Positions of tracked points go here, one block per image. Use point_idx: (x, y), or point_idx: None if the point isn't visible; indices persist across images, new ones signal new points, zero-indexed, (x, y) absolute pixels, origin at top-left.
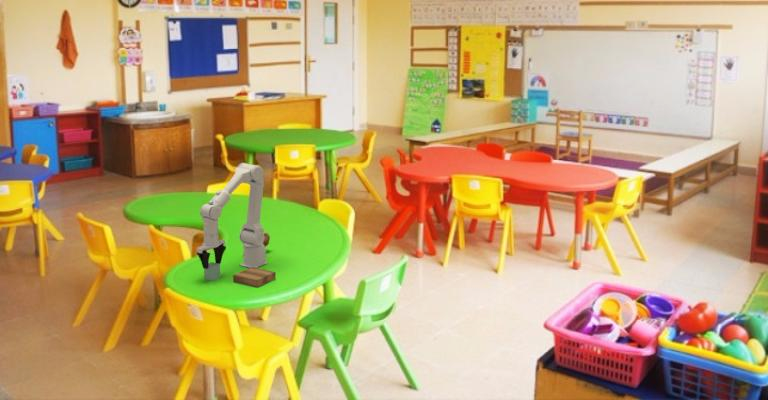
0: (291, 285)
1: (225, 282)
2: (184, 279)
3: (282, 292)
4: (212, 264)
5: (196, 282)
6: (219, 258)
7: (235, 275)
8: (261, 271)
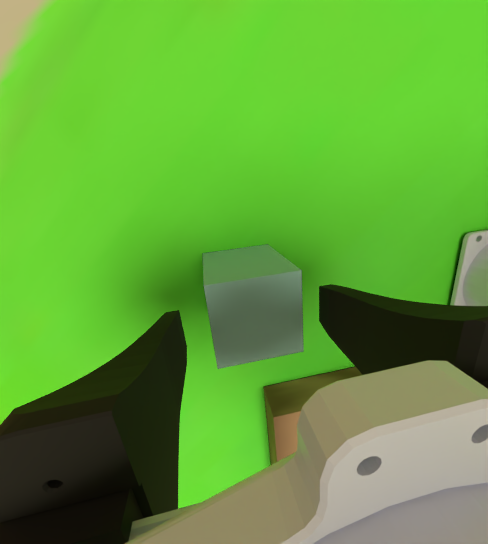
0: None
1: (237, 368)
2: (97, 158)
3: None
4: (258, 325)
5: (126, 268)
6: (345, 343)
7: (275, 429)
8: None
